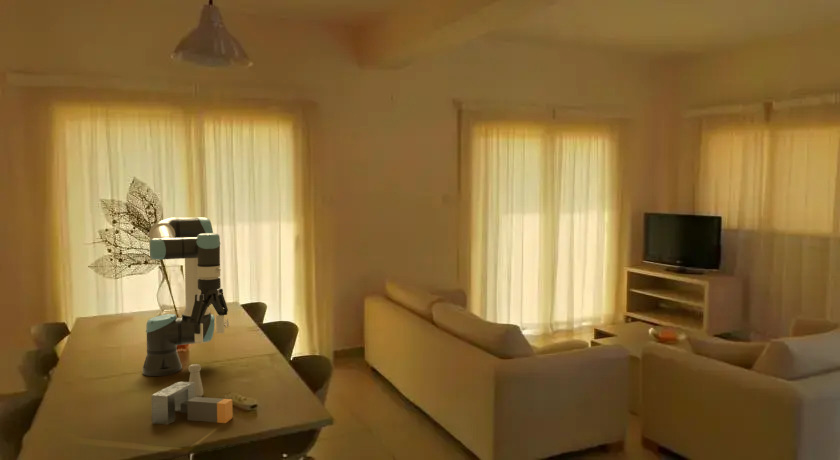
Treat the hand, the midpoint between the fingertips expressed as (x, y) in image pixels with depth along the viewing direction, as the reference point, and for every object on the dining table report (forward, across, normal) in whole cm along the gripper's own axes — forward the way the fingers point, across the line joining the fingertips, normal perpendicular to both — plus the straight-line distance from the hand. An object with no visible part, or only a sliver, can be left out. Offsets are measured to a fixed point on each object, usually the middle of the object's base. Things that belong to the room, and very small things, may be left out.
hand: (210, 337), depth 211 cm
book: (+29, +100, +52) cm, 116 cm away
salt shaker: (+26, +7, +11) cm, 29 cm away
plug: (+25, -10, -6) cm, 27 cm away
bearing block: (+25, -10, +8) cm, 28 cm away
